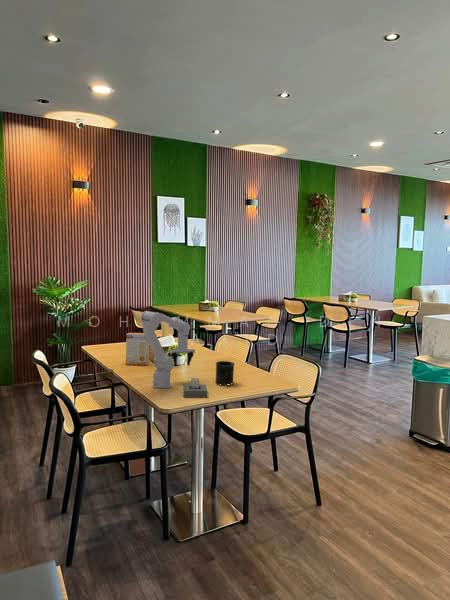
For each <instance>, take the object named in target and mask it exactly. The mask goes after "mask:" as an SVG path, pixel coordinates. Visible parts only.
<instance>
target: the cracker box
mask: <svg viewBox="0 0 450 600" xmlns="http://www.w3.org/2000/svg"><path fill="white" fill-rule="evenodd" d="M125 338H126V339H125V341H126V342H125V365H127V366H144V367H147V366H148V365H149V361H150V360H149V358H150V345H149V343H148V341H147V339H146V336H145V334H144V332H128V333H127V332H126V337H125Z"/></svg>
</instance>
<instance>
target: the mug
mask: <svg viewBox="0 0 450 600" xmlns="http://www.w3.org/2000/svg"><path fill="white" fill-rule="evenodd" d="M215 366H216V368H215V384H216V383H217V384H216V385H218V384H221V385H220V386H222V385H227V384H231V383H233V384H234V374H235V372H234V370H235V369H234V367H235V362H232V361H226V360H221V361H217V362H215Z"/></svg>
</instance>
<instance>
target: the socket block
mask: <svg viewBox="0 0 450 600" xmlns="http://www.w3.org/2000/svg"><path fill="white" fill-rule="evenodd" d="M183 391H184V392H183V398H197V397H207V398H208V388H207V384H204V383H203V384H202V383H201V384H200V383H199V389H191V383H190V384H189V383H187V384H186V383H183Z"/></svg>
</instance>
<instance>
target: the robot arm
mask: <svg viewBox="0 0 450 600" xmlns="http://www.w3.org/2000/svg"><path fill="white" fill-rule="evenodd" d="M140 321H141V323H142V331H143V332H142V333H144V334H145V336H146V339H147V341H148V343H149V348H150V349H151V351H152V354H153V355H154V358H153V361H154V367H155V368H156V370H154V369H153V375H152V376H153V377H152V378H153V380H152V388H154V389H170V388H171V387H172V386H171V385H172V383H171V372H172V370H173V368H174V366H175V367H177V365H178V364H177V362H178V361H177V360H178V354H186V355H187V361H186V362H187V363H186V364H187V366H190V364H191V361H192V358H193V357H194V354H195V353H196V349H194V348H188V343H189V334H190V330H191V325H190V324H189V322H186V321H183V319H179V318H178V316H174V317H173V316H172V317H170V316H167V315H165V314H164V313H160V312H156V311H155V312H154V311H149V310H145V311H143V312H142V314H141V317H140ZM162 322H163V323H166V324H168V326H169V327H170V328H173V329H175V330H176V331H177V349H176V348H175V349H170V350H169V354H170V355H171V357H172V359H171V357H170V356H169V355H168V354H166V353H165V350H164V348H163V346H162V344H161V342H160V340H159V338H158V336H157V333H156V330H157V329H158V327H159V325H160V323H162Z"/></svg>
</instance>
